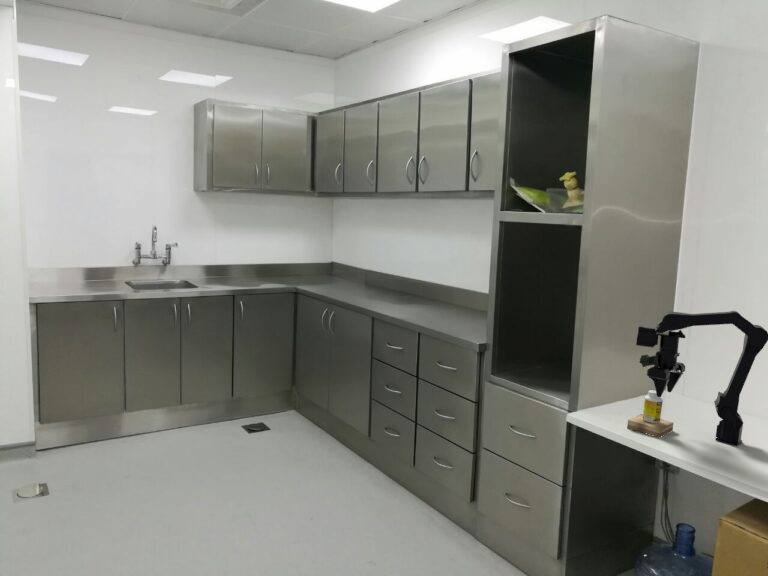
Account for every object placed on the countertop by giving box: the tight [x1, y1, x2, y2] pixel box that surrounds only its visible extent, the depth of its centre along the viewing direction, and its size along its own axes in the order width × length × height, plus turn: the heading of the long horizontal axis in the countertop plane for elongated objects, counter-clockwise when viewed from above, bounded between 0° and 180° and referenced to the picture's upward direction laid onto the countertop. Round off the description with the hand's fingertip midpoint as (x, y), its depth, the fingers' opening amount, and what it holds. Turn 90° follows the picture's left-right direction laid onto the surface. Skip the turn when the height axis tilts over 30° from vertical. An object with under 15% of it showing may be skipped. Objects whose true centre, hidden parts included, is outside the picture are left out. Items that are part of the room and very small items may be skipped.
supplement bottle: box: [642, 389, 663, 423], centre depth 214 cm, size 6×6×10 cm
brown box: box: [626, 413, 674, 438], centre depth 215 cm, size 11×11×3 cm
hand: (664, 394), depth 214 cm, fingers open, 9 cm apart
